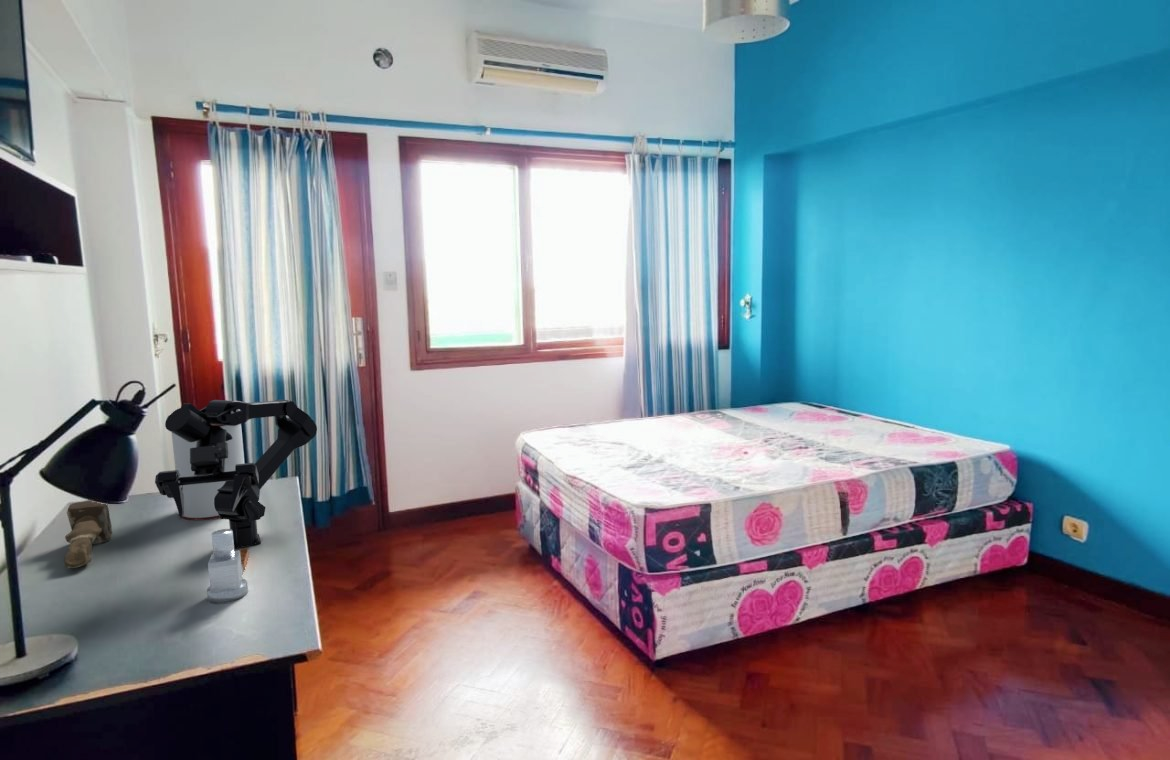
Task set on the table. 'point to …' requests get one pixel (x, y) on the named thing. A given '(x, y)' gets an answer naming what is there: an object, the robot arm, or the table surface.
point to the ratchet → (231, 594)
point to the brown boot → (86, 531)
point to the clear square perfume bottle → (224, 563)
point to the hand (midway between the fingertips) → (206, 514)
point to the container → (203, 494)
